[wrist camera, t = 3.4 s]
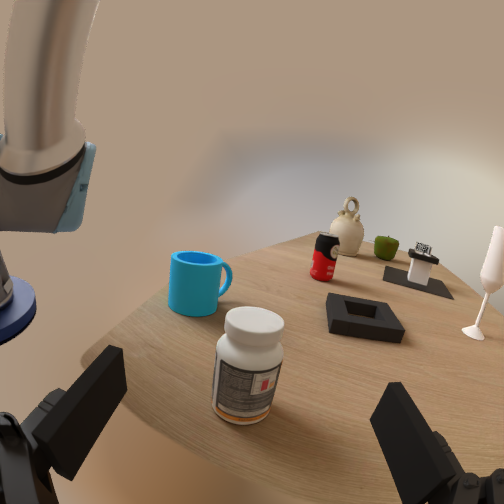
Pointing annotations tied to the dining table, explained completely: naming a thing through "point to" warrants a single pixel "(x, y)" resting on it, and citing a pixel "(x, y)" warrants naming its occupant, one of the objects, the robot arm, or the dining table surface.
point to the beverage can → (325, 256)
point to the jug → (348, 229)
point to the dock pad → (362, 318)
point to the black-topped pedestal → (418, 273)
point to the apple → (385, 247)
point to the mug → (196, 282)
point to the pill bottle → (247, 365)
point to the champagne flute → (490, 277)
